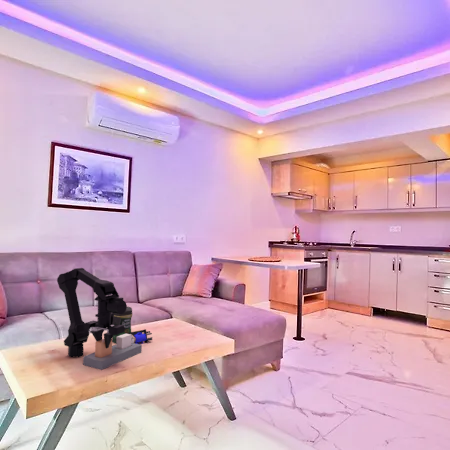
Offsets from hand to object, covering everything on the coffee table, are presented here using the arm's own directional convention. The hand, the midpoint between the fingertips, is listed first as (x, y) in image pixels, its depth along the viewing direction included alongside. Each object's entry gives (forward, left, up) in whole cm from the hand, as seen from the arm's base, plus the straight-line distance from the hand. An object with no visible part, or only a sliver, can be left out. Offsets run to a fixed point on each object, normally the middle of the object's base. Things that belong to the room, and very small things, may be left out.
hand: (103, 347), depth 146 cm
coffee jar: (-15, +26, -8) cm, 31 cm away
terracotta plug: (0, 0, -6) cm, 6 cm away
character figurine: (-5, +27, -8) cm, 29 cm away
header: (0, +6, -8) cm, 10 cm away
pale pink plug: (0, +12, -6) cm, 14 cm away
